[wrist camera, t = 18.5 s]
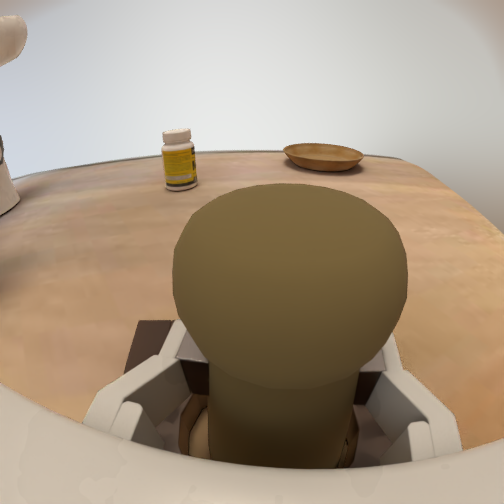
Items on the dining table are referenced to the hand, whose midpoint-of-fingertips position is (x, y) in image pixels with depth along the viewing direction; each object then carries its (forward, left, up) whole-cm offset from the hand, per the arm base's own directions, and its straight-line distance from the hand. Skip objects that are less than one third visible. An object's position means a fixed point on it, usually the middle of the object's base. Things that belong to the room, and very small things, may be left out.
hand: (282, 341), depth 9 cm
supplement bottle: (-9, +36, -7) cm, 38 cm away
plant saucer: (+15, +46, -7) cm, 49 cm away
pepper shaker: (0, -1, -6) cm, 6 cm away
